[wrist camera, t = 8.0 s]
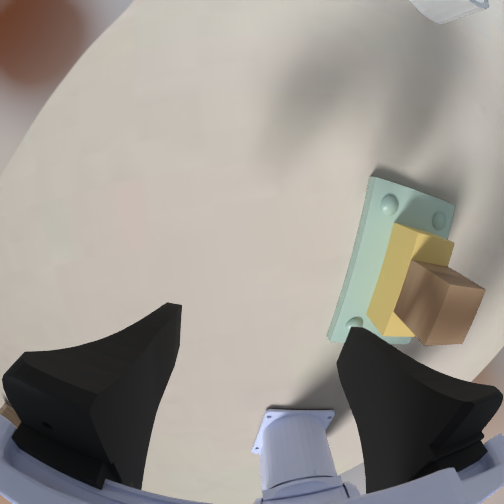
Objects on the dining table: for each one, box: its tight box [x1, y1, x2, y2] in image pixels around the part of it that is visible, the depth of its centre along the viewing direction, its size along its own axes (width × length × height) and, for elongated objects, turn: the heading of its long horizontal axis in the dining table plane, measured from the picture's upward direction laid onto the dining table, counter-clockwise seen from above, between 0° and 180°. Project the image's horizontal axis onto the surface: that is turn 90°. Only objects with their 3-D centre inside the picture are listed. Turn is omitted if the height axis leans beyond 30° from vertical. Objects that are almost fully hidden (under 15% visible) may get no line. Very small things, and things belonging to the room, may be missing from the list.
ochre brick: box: [366, 223, 454, 337], centre depth 19 cm, size 8×4×4 cm, turn 170°
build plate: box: [327, 176, 455, 344], centre depth 21 cm, size 14×9×1 cm, turn 170°
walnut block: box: [393, 260, 485, 346], centre depth 15 cm, size 4×4×4 cm
